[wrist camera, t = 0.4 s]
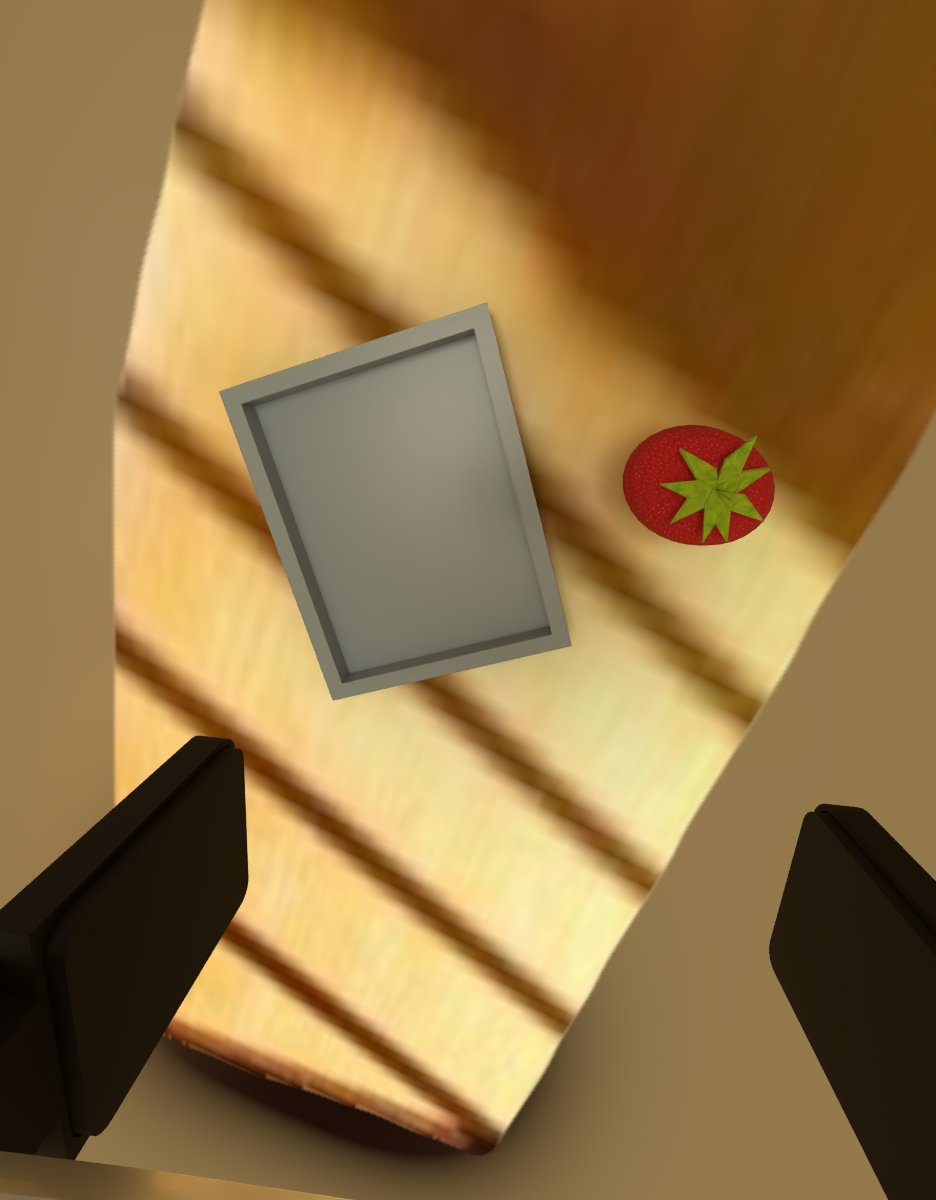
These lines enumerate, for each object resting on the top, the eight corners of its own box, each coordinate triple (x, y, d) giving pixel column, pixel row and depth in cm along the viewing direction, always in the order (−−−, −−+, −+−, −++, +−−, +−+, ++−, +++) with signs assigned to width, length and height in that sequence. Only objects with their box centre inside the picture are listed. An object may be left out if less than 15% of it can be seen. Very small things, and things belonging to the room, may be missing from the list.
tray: (489, 313, 32) (486, 302, 29) (568, 632, 37) (571, 645, 34) (239, 395, 34) (219, 391, 32) (344, 684, 39) (332, 700, 37)
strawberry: (627, 412, 33) (673, 398, 23) (748, 451, 33) (845, 453, 23) (591, 508, 34) (621, 532, 25) (707, 545, 34) (781, 584, 25)
